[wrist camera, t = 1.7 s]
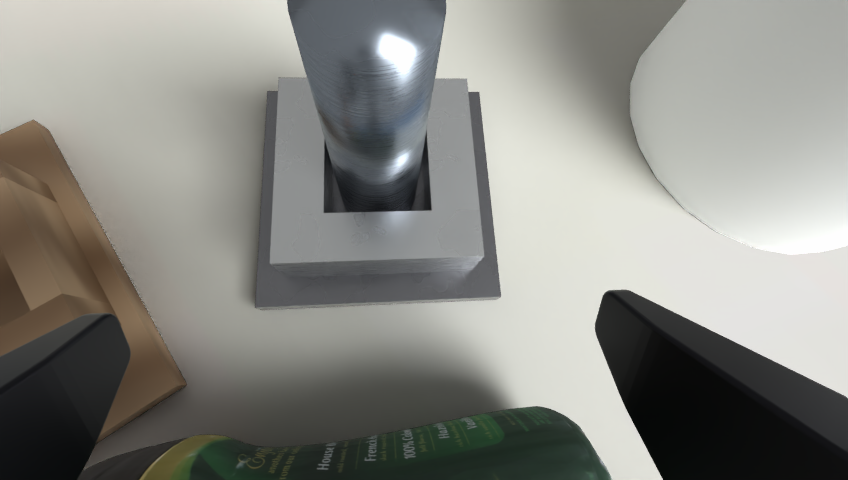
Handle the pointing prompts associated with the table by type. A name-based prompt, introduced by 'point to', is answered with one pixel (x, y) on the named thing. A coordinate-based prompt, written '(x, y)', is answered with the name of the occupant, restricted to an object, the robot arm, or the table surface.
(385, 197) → the metal rod
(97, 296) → the wooden tray
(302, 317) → the table surface
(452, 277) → the socket stand
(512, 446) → the coffee jar
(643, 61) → the stepped white column
